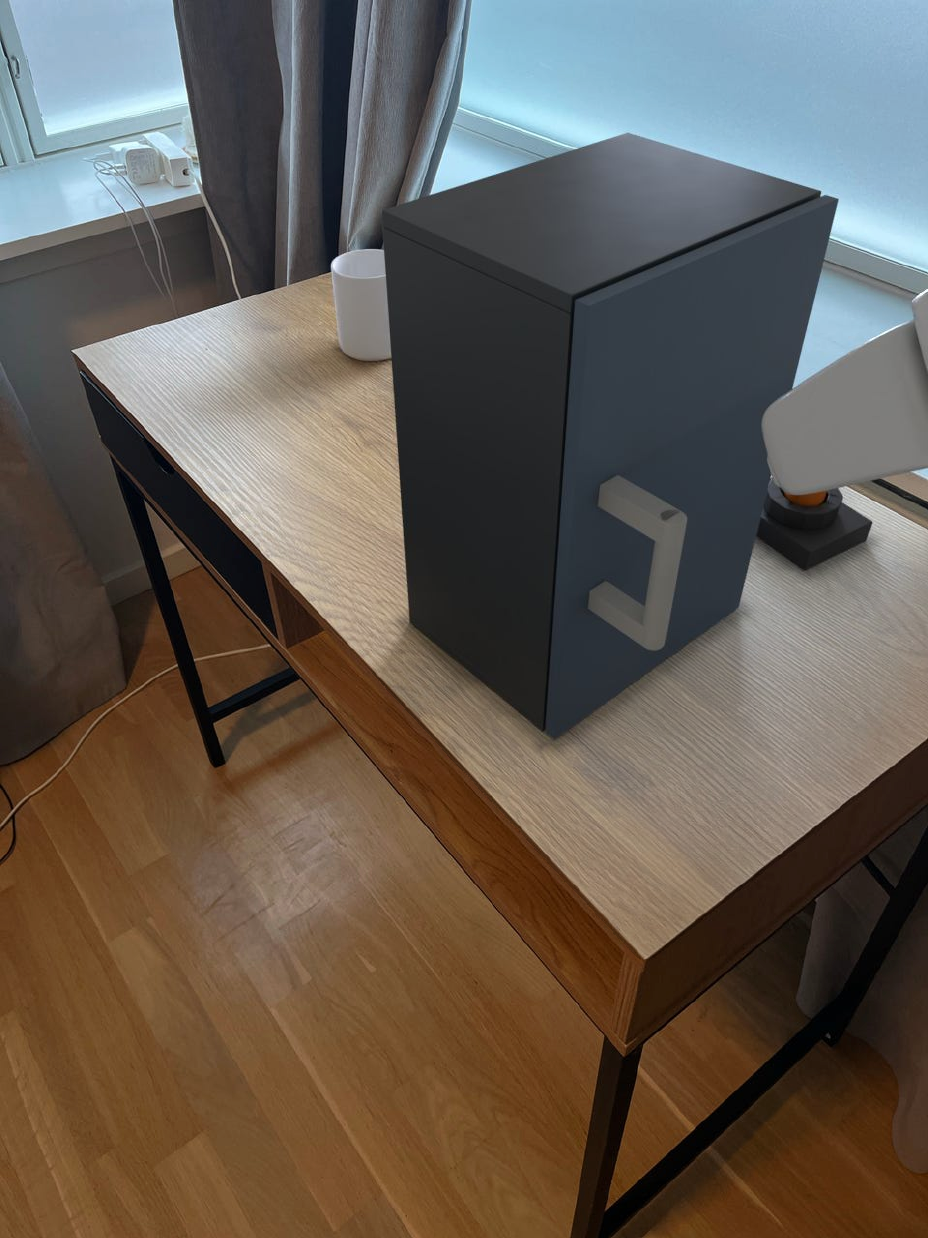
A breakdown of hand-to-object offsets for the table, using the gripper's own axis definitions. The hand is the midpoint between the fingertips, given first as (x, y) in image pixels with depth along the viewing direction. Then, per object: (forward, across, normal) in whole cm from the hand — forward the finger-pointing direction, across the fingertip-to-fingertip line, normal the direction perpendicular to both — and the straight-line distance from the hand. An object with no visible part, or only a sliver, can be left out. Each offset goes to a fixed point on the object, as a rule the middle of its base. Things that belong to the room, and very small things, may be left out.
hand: (854, 449), depth 48 cm
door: (+29, -5, +11) cm, 31 cm away
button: (+33, -26, -1) cm, 42 cm away
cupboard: (+36, -2, +3) cm, 37 cm away
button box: (+35, -27, +2) cm, 44 cm away
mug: (+73, -6, -36) cm, 82 cm away
